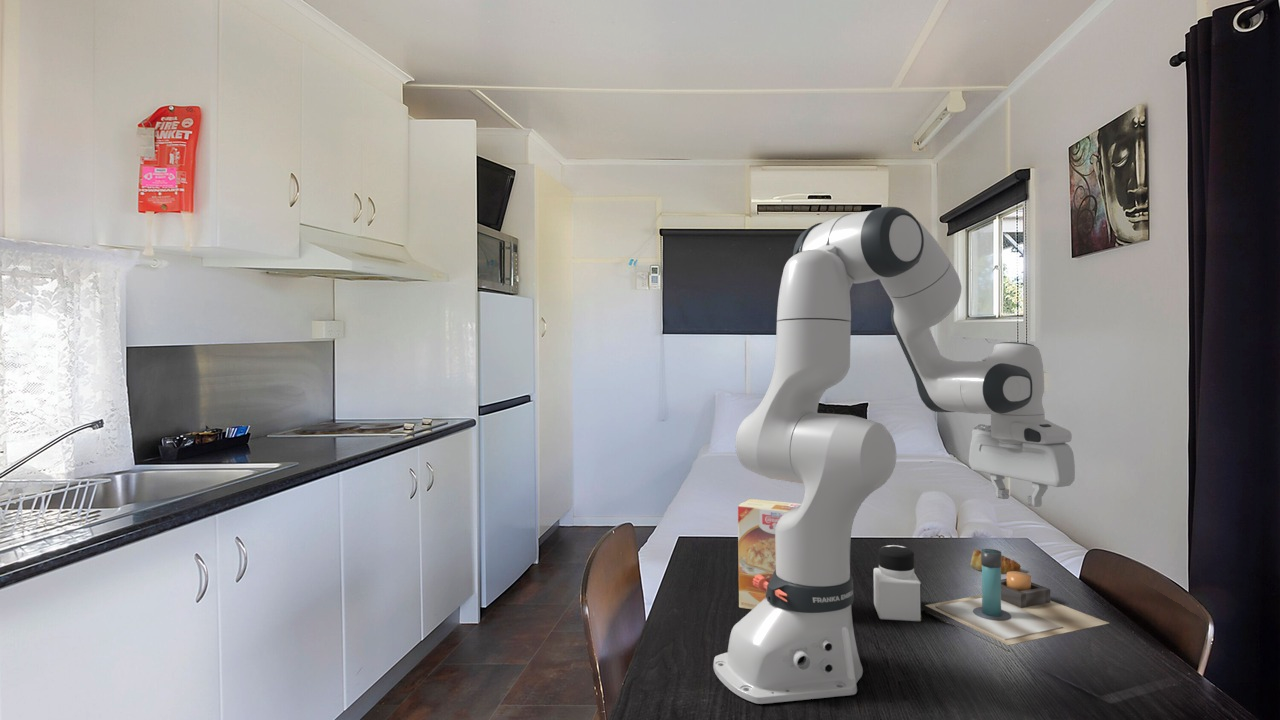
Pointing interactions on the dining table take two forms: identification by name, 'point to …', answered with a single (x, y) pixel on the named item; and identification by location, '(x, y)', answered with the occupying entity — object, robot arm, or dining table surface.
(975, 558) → the pastry
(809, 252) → the robot arm
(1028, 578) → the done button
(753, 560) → the coffeecake box
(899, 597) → the medicine bottle
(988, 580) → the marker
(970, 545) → the dining table surface
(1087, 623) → the beige board with holder
